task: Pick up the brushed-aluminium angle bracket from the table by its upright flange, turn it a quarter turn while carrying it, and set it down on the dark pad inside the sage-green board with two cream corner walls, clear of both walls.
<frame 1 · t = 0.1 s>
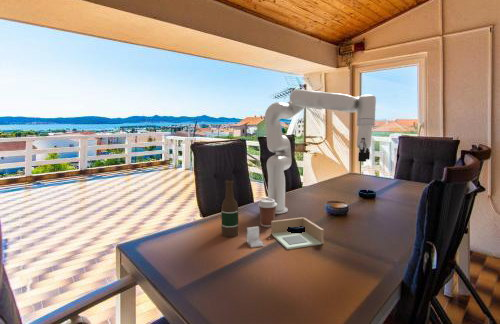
hand: (364, 160, 124), 31 cm above the table, tool pointing down, fingers open, 9 cm apart
coffee cup: (267, 224, 130), on the table
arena: (296, 238, 112), on the table
beer bottle: (230, 234, 118), on the table
bracket: (254, 243, 108), on the table
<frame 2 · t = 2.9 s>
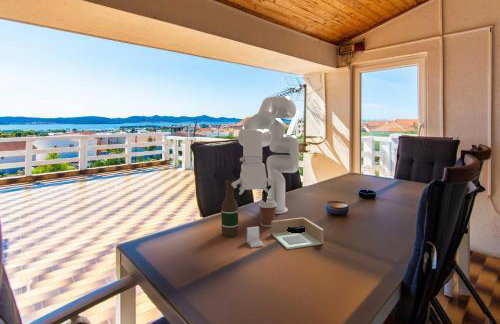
hand: (253, 202, 108), 16 cm above the table, tool pointing down, fingers open, 9 cm apart
nothing on the table moved.
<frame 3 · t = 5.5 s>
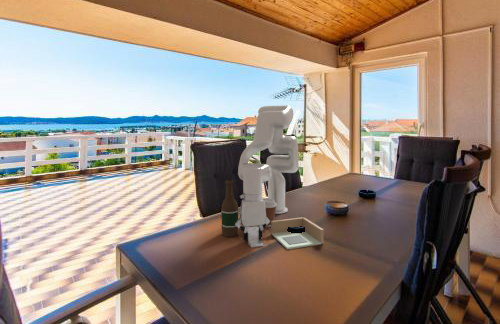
hand: (252, 239, 110), 1 cm above the table, tool pointing down, fingers closed on bracket, 5 cm apart
bracket: (254, 243, 108), on the table, touching gripper
everything else where it was.
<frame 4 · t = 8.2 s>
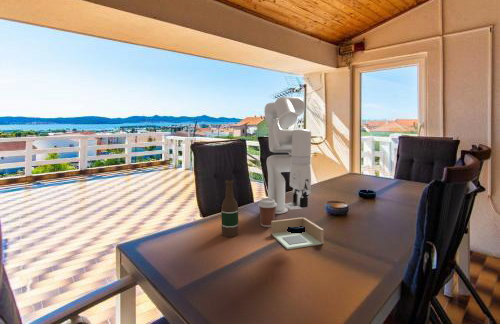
hand: (300, 204, 108), 15 cm above the table, tool pointing down, fingers closed on bracket, 5 cm apart
bracket: (294, 207, 108), point 15 cm above the table, touching gripper
everything else where it was.
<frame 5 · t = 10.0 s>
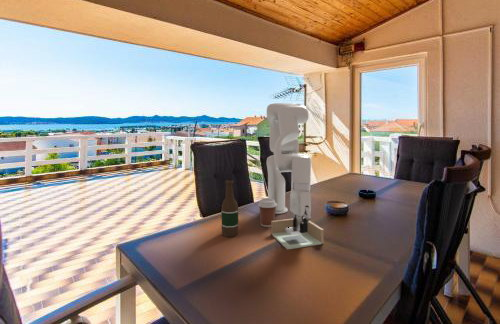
hand: (300, 229, 109), 5 cm above the table, tool pointing down, fingers closed on bracket, 5 cm apart
bracket: (294, 232, 109), point 4 cm above the table, touching gripper
everything else where it was.
when the fingers open (3 cm above the table, at t = 11.2 s): bracket drops 1 cm, resting on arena.
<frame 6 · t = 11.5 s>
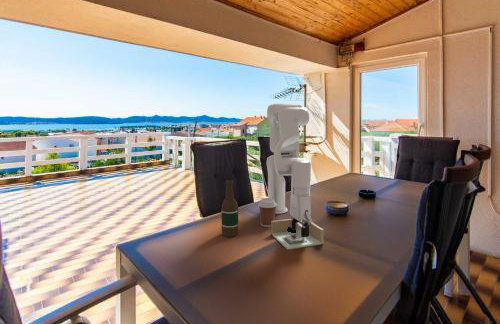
hand: (300, 232, 110), 4 cm above the table, tool pointing down, fingers open, 7 cm apart
bracket: (294, 239, 109), point 1 cm above the table, touching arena
everything else where it was.
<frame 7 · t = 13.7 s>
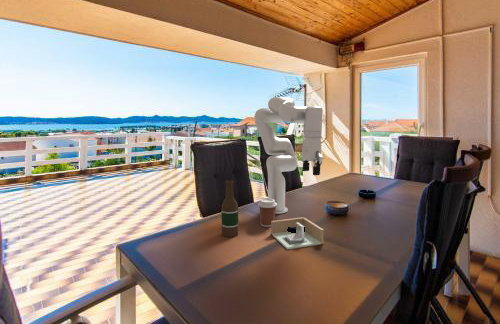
hand: (310, 172, 121), 26 cm above the table, tool pointing down, fingers open, 9 cm apart
nothing on the table moved.
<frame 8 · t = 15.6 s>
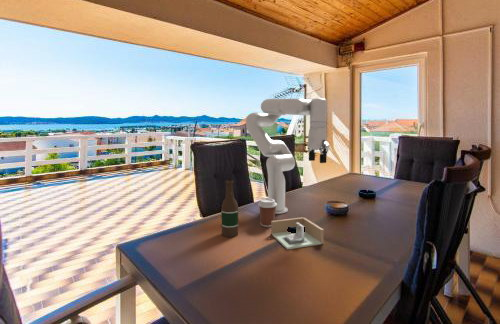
hand: (317, 161, 128), 30 cm above the table, tool pointing down, fingers open, 9 cm apart
nothing on the table moved.
at the end: bracket inside the target area on the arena (0.4 cm from its centre), point 1.0 cm above the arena's base; bracket tilted 0°; the gripper is holding nothing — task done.
